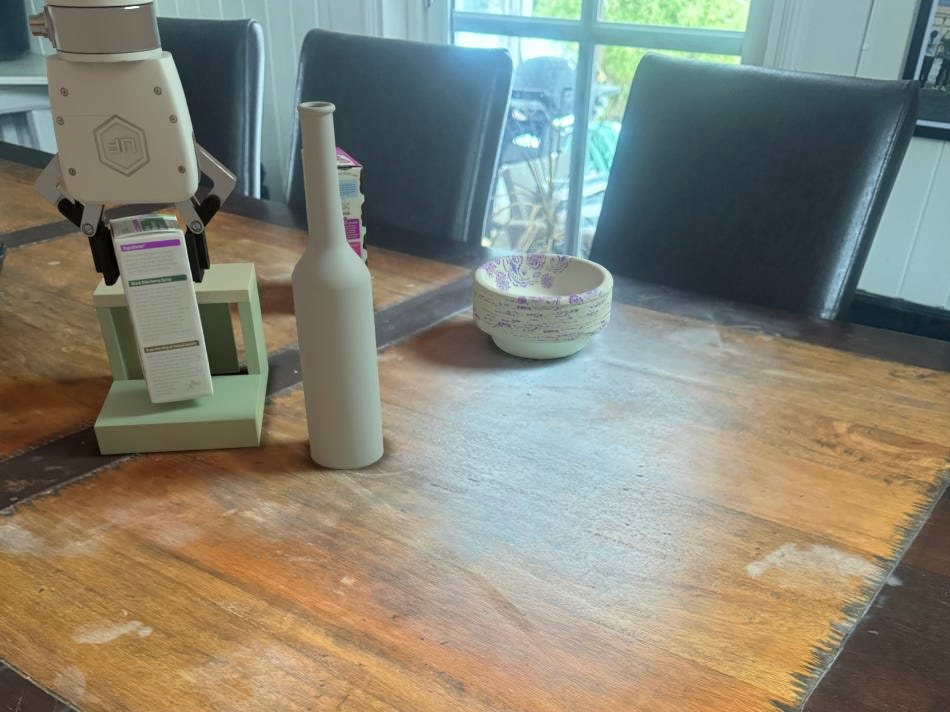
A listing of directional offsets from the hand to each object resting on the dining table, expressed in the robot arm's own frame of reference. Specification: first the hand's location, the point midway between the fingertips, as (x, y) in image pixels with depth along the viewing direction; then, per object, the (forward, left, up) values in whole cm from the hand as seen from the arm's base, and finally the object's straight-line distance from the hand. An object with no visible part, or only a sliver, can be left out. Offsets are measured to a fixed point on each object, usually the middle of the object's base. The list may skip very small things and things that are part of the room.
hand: (156, 277), depth 81 cm
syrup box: (0, 0, -10) cm, 10 cm away
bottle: (+15, -7, -14) cm, 22 cm away
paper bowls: (+37, +17, -14) cm, 43 cm away
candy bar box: (+15, +34, -14) cm, 40 cm away
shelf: (0, +4, -14) cm, 15 cm away
